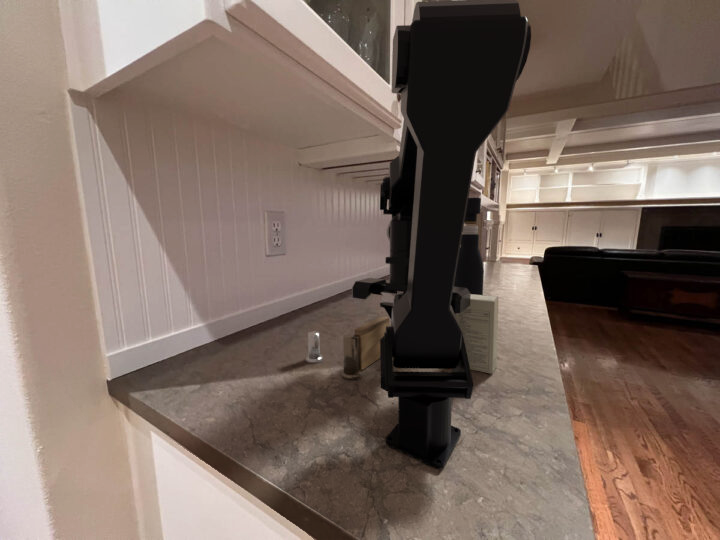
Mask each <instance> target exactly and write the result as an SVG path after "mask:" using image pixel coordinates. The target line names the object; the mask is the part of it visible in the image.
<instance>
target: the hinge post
mask: <svg viewBox="0 0 720 540" xmlns="http://www.w3.org/2000/svg"><path fill="white" fill-rule="evenodd" d="M342 347H343V349H342V352H343V369H342V370H341V371H340V375H341V379H343V380H345V381H355V380H359V379H360V378H361V377H362V370H360V369H358V336H357V335H355V333H354V334H353V333H348V334H345V335H343V337H342Z"/></svg>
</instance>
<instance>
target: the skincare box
mask: <svg viewBox="0 0 720 540" xmlns="http://www.w3.org/2000/svg"><path fill="white" fill-rule="evenodd" d="M470 295H471V297H470V306H469V307H468V308H466V309H465V310H464V311H462V312H461V313H455V316H456V318H457V321H458V323H459V326H460V328H461V330H462V333H463V337H464V342H465V347H466V352H467V356H468V361H469V366H470V370H473V371H477V372H482V373H487V374H491V375H493V374H494V371H495V369H496V368H497V362H498V335H499V333H498V329H499V328H498V327H499V326H498V325H499V296H498V295H497V296H496V295H486V294H483V295H475V294H470Z"/></svg>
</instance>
